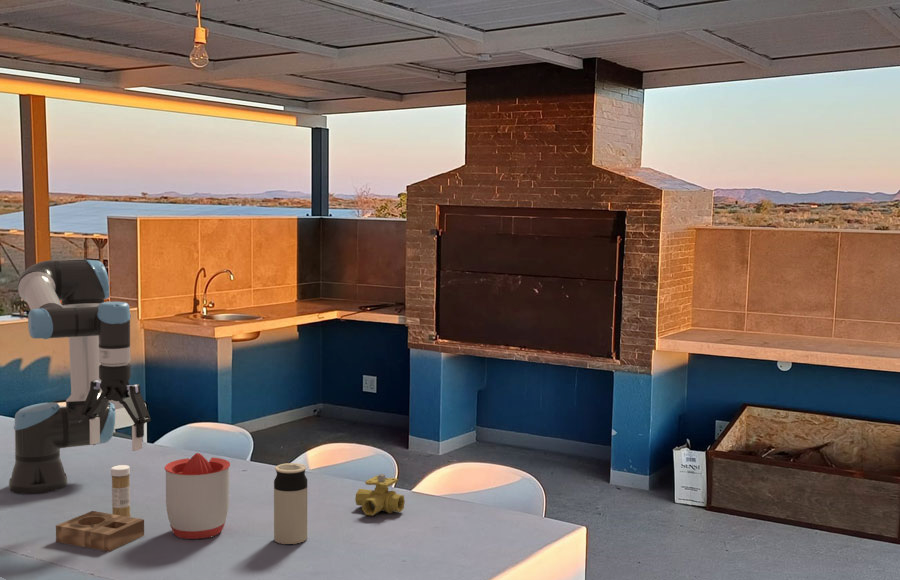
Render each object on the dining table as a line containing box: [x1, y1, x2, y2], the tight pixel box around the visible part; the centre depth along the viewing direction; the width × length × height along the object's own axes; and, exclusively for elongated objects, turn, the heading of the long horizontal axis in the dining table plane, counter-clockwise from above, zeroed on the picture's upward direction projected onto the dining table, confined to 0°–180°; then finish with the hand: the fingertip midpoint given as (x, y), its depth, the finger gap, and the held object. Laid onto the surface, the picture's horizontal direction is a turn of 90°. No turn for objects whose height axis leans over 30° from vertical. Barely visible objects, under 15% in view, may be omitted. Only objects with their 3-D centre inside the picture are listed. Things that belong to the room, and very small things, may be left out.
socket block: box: [55, 510, 145, 553], centre depth 225 cm, size 16×12×4 cm
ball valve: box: [354, 473, 406, 516], centre depth 248 cm, size 13×10×10 cm
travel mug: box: [273, 462, 308, 545], centre depth 225 cm, size 8×8×18 cm
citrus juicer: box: [164, 452, 231, 540], centre depth 230 cm, size 16×17×20 cm
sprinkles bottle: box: [110, 464, 132, 517], centre depth 240 cm, size 5×5×14 cm
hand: (115, 446), depth 236 cm, fingers open, 13 cm apart
